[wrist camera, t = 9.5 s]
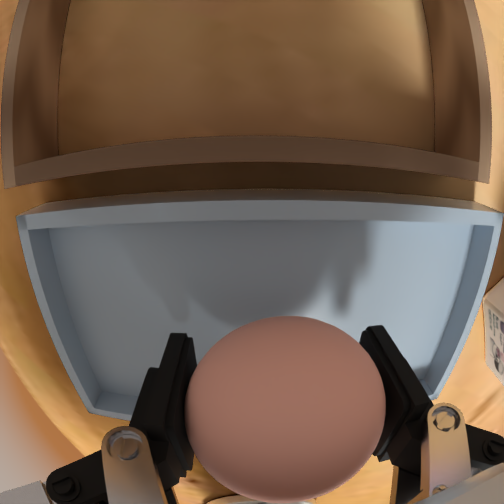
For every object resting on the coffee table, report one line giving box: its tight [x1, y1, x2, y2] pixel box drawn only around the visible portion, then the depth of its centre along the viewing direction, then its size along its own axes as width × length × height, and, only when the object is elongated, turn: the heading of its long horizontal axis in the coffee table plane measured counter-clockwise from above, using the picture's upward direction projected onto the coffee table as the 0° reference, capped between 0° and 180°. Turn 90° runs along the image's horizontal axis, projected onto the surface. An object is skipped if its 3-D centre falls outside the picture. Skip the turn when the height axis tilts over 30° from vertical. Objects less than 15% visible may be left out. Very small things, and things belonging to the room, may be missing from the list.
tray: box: [16, 189, 504, 421], centre depth 12 cm, size 11×20×2 cm, turn 90°
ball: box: [184, 316, 386, 503], centre depth 8 cm, size 6×6×6 cm
